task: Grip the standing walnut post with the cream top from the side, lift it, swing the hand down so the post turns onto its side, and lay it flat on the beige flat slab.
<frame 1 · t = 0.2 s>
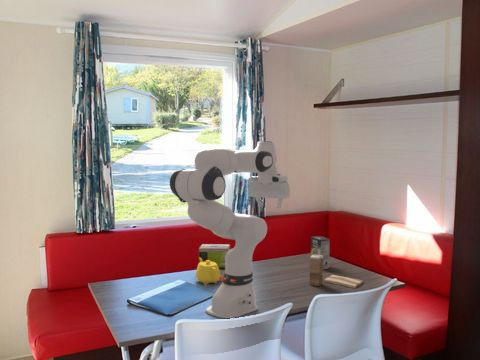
hand: (269, 207, 215), 39 cm above the table, tool pointing down, fingers open, 8 cm apart
coffee box: (319, 267, 257), on the table
walnut post: (316, 284, 227), on the table
tea box: (215, 274, 244), on the table
beige flat slab: (343, 282, 231), on the table
teapot: (207, 282, 232), on the table
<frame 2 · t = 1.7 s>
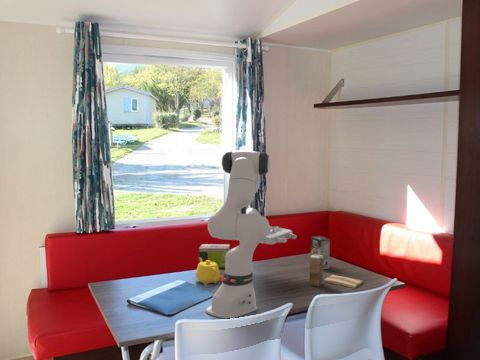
hand: (291, 238, 234), 20 cm above the table, tool horizontal, fingers open, 8 cm apart
nothing on the table moved.
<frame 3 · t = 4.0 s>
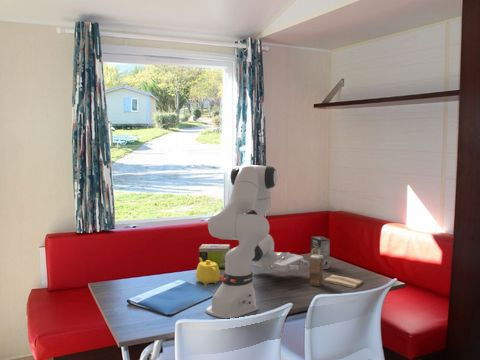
hand: (303, 265, 231), 8 cm above the table, tool horizontal, fingers open, 8 cm apart
nothing on the table moved.
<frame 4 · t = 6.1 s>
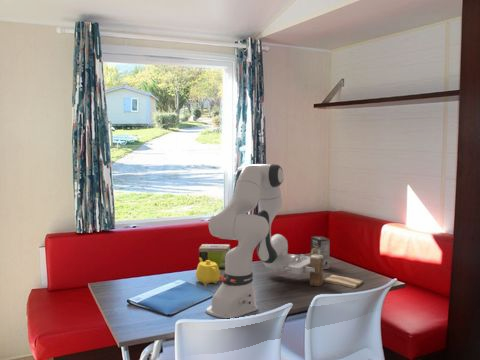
hand: (318, 268, 226), 8 cm above the table, tool horizontal, fingers closed on walnut post, 4 cm apart
walnut post: (316, 284, 227), on the table, touching gripper
everything else where it was.
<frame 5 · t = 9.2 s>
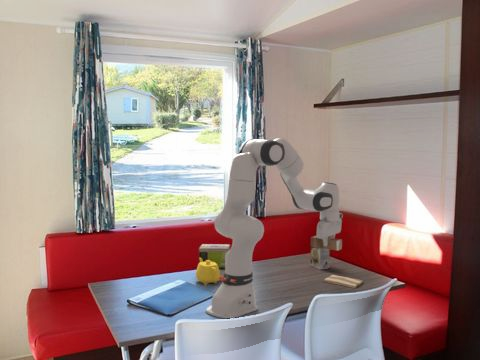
hand: (328, 244, 227), 19 cm above the table, tool pointing down, fingers closed on walnut post, 4 cm apart
walnut post: (313, 241, 232), point 20 cm above the table, tilted 90°, touching gripper
everything else where it was.
when the fingers open (4 cm above the table, at t = 12.1 s): walnut post drops 1 cm, resting on beige flat slab.
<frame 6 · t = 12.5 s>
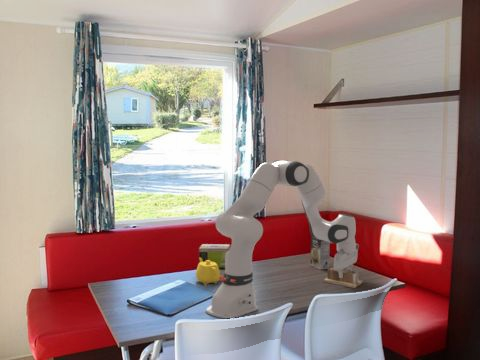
hand: (345, 275, 230), 4 cm above the table, tool pointing down, fingers open, 8 cm apart
walnut post: (329, 273, 235), point 3 cm above the table, tilted 90°, touching beige flat slab
everything else where it was.
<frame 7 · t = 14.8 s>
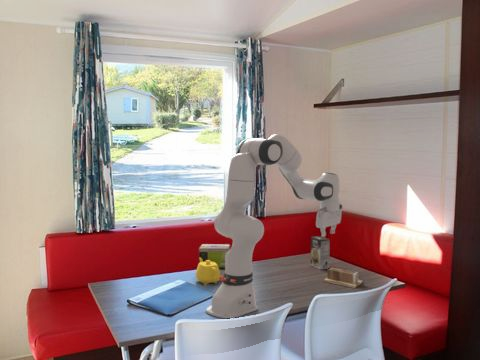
hand: (328, 234, 229), 23 cm above the table, tool pointing down, fingers open, 8 cm apart
nothing on the table moved.
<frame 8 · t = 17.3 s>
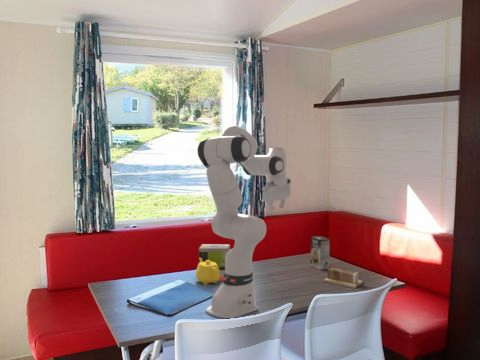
hand: (276, 209, 232), 35 cm above the table, tool pointing down, fingers open, 8 cm apart
nothing on the table moved.
at the end: walnut post tilted 90°; walnut post 7.3 cm from the beige flat slab (horizontally); the gripper is holding nothing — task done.
